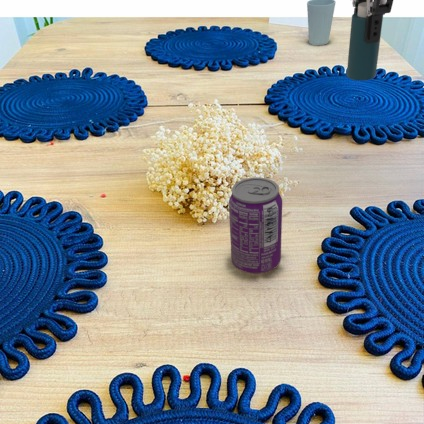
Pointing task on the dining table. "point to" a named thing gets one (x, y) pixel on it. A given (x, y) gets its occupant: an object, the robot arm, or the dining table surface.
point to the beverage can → (255, 225)
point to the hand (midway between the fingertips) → (365, 37)
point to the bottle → (361, 48)
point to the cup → (320, 20)
